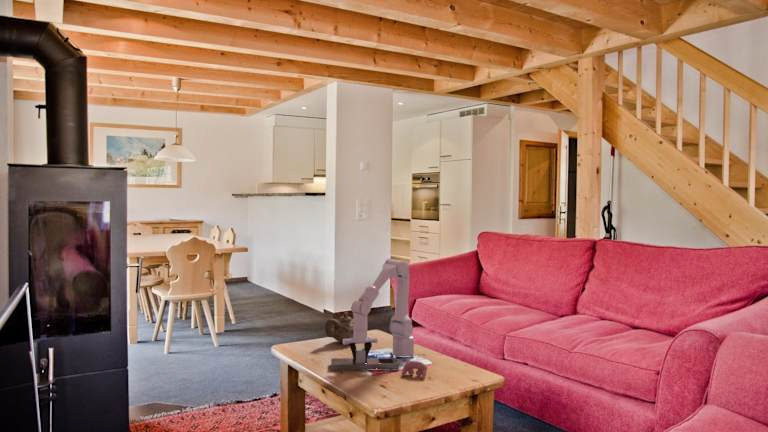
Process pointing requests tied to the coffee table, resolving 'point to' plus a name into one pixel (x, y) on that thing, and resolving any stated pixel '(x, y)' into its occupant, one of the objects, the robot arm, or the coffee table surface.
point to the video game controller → (414, 365)
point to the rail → (372, 363)
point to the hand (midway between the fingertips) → (359, 360)
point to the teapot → (340, 328)
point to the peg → (360, 356)
